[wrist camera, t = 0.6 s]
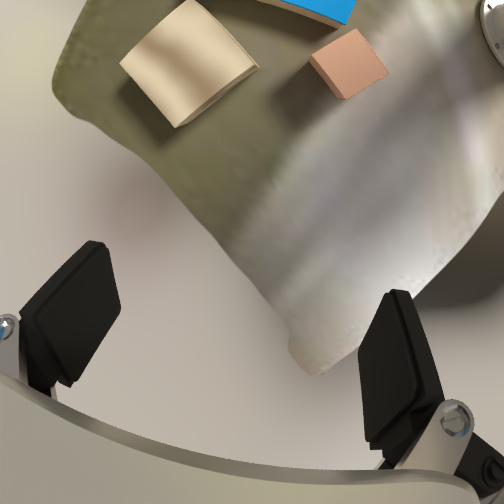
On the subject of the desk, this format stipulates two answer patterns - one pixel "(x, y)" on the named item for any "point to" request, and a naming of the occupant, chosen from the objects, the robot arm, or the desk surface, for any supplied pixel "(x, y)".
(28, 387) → the robot arm
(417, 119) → the desk surface
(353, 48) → the block
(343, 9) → the book
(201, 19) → the base
